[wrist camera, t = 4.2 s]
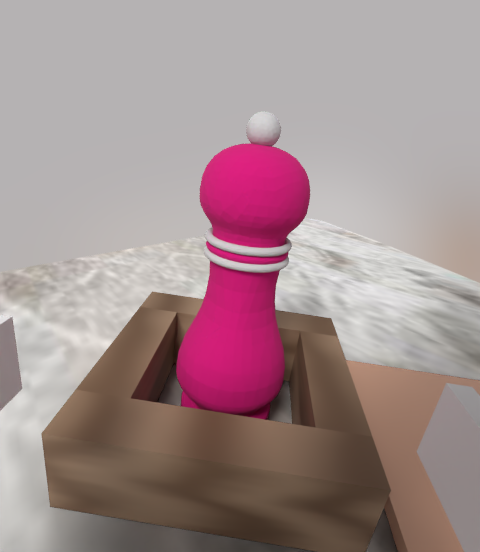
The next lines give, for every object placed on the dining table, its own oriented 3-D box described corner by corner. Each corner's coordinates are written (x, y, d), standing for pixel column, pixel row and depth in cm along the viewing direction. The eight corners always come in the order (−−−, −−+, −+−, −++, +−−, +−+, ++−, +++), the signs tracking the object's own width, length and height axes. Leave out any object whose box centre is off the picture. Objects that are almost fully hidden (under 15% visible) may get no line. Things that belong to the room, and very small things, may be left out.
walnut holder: (319, 365, 32) (331, 318, 30) (362, 559, 17) (391, 490, 15) (150, 339, 32) (152, 291, 31) (50, 506, 18) (41, 433, 16)
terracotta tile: (514, 395, 31) (519, 386, 31) (733, 621, 17) (747, 610, 16) (340, 368, 32) (343, 359, 32) (402, 566, 17) (408, 553, 17)
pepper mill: (155, 402, 25) (167, 98, 18) (233, 372, 30) (269, 118, 22) (209, 479, 20) (259, 100, 13) (294, 428, 24) (368, 125, 17)
